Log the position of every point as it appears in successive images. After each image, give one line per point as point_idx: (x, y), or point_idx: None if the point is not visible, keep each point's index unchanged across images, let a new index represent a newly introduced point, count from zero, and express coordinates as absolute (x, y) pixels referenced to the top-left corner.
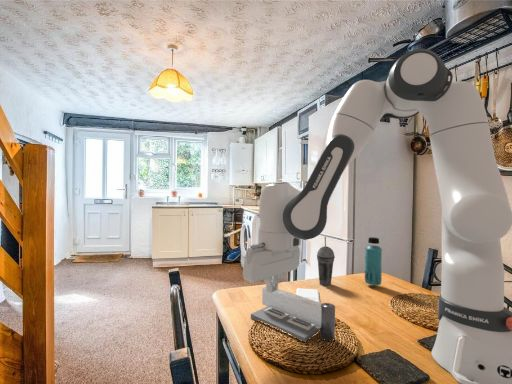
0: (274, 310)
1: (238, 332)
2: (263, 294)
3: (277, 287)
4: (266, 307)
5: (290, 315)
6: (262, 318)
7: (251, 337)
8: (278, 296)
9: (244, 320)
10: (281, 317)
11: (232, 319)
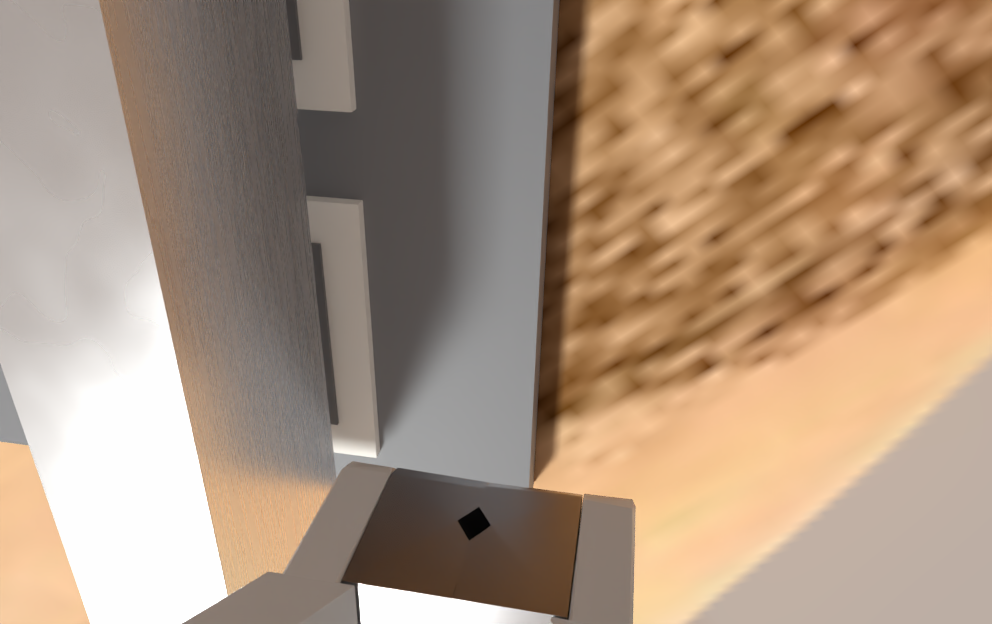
0: None
1: (880, 413)
2: None
3: (344, 504)
4: None
5: None
6: (521, 373)
7: (897, 251)
8: (222, 417)
9: None
10: (347, 214)
11: (682, 585)
